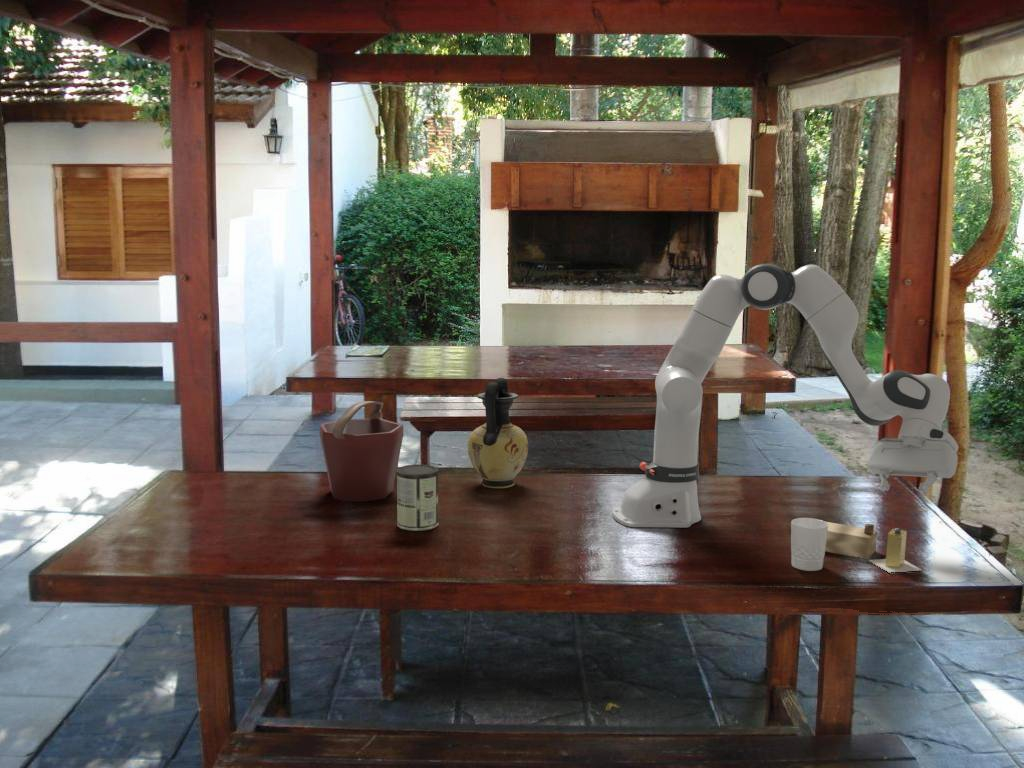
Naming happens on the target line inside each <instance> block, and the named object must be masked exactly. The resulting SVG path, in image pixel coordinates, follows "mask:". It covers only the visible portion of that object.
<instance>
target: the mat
mask: <svg viewBox="0 0 1024 768" xmlns="http://www.w3.org/2000/svg"><path fill="white" fill-rule="evenodd" d="M868 560H869V561H870V562H869V563H871V562H872V563H873V564H872V563H871V564H872V565H874V564H875V565H876V567H877V566H878V567H877V568H879V567H880V568H881V570H882V569H883V570H885V571H887V572H888V573H890V574H892V573H891V572H894V573H893V574H896V573H895V572H907V571H919V570H922V569H921V568H919V567H917V565H914V564H913V563H910V562H909V561H907V560H904V564H903V565H902V566H901V568H900V569H897V568H892V567H887V566H885V564H886V558H882V559H881V558H879V559H868ZM875 565H874V566H875ZM880 568H879V569H880ZM883 570H882V571H883ZM885 571H884V572H885ZM887 572H886V573H887ZM888 573H887V574H888ZM907 573H908V572H907Z"/></svg>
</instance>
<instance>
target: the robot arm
mask: <svg viewBox="0 0 1024 768" xmlns="http://www.w3.org/2000/svg"><path fill="white" fill-rule="evenodd" d="M784 303H785V304H786V303H788V304H790V305H792V306H794V307H795V308H796V309H797V311H799V313H801V315H802V316H803V318H804V319H805V320H806V321H807V322H808V324H809V326H810V327H811V329H812V330H813V332H814V334H815V336H816V338H817V339H818V341H819V347H820V350H821V353H822V355H823V356H824V358H825V359H826V361H827V363H828V364H829V366H830V367H831V369H832V371H833V372H834V374H835V375H836V377H837V379H838V380H839V382H840V384H841V385H842V387H843V388H844V390H845V391H846V393H847V396H848V398H849V399H850V402H851V405H852V408H853V410H854V413H855V414H856V415H857V417H858V418H859V420H861V421H862V422H863V423H866V425H869V426H874V427H875V426H877V427H880V426H882V425H885V424H886V423H888V422H889V421H891V420H892V419H893V418H894V417H896V416H899V417H901V418H902V423H901V426H900V430H899V433H898V435H897V437H882V438H881V439H879V440H877V441H875V442H874V445H873V448H872V451H871V452H870V454H869V457H868V459H867V463H866V465H867V467H868V469H869V470H870V471H871V473H872V474H873V475H878V476H879V479H880V485H879V489H880V490H881V491H890V487H891V484H890V483H889V481H888V480H887V479H888V478H889V477H890V476H903V477H904V476H906V477H920V478H921V477H923V478H926V479H925V481H924V482H920V483H919V486H918V491H919V492H920V493H921V494H928V493H929V490H930V488H931V487H932V486H933V485H934V484H935V483H936V482H937V480H938V478H940V479H941V478H942V479H951V478H952V477H954V476H955V474H956V471H957V467H958V460H959V458H958V457H959V456H958V454H957V452H958V450H959V444H958V443H957V441H956V440H955V438H954V437H953V436H952V435H951V434H950V433H949V432H947V431H946V430H943V429H942V426H943V425H942V424H943V422H944V421H945V419H946V416H947V414H948V410H949V405H950V401H951V400H950V399H951V389H950V385H949V383H948V382H947V381H946V380H945V379H944V378H942V377H940V376H939V375H936V374H933V373H924V374H923V373H922V374H913V373H909V372H908V371H905V370H902V369H895V370H891V371H890V372H888V373H886V374H884V375H882V376H881V377H879V378H877V379H876V380H874V381H873V380H871V379H870V378H869V376H868V375H867V373H866V372H865V370H864V369H863V367H862V365H861V364H860V363H859V361H858V360H857V358H856V355H855V354H854V352H853V348H852V344H853V343H852V342H853V338H854V336H855V333H856V330H857V327H858V325H859V317H860V316H859V315H860V314H859V311H858V308H857V307H856V305H855V303H854V302H853V301H852V299H851V297H849V295H848V294H847V292H845V290H844V289H843V288H842V287H841V286H840V284H838V282H837V281H836V280H835V279H834V278H833V277H832V276H831V275H830V274H828V272H826V271H825V270H824V269H823V268H821V267H820V266H819V265H817V264H806V265H803V266H800V267H799V268H797V269H796V270H794V271H792V272H790V271H789V270H785V269H783V268H781V267H779V266H778V265H776V264H772V263H761V264H757V265H755V266H752V267H750V268H749V269H748V270H747V271H746V272H745V274H744V275H743V276H742V277H740V278H739V277H737V278H736V277H733V276H731V275H727V274H716V275H714V276H712V277H711V278H710V279H709V281H708V282H707V283H706V284H705V286H704V287H703V289H702V290H701V292H700V294H699V295H698V297H697V299H696V300H695V302H694V304H693V307H692V308H691V311H690V312H689V314H688V316H687V318H686V320H685V323H684V325H683V326H682V329H681V331H680V333H679V335H678V337H677V339H676V341H675V342H674V344H673V346H672V347H671V348H670V351H669V352H668V354H667V356H666V357H665V360H664V361H663V363H662V365H661V366H660V368H659V371H658V372H657V374H656V376H655V381H654V386H655V387H654V389H655V392H656V407H655V410H656V411H655V412H656V413H655V423H654V433H653V434H654V435H653V457H652V458H653V460H652V461H651V462H650V463H649V464H648V463H647V462H645V461H641V462H640V464H639V469H640V470H641V471H644V472H645V476H644V477H643V478H642V479H640V480H639V481H638V482H636V483H634V484H633V485H632V486H630V487H629V488H628V489H626V490H625V491H624V493H623V496H622V499H621V504H620V507H615V508H614V509H612V513H611V514H612V518H613V519H614V520H615V521H617V522H618V523H619V524H620V525H623V526H626V527H629V528H630V527H631V528H684V529H685V528H686V529H687V528H690V527H691V526H692V525H693V524H695V523H698V522H700V521H701V520H702V515H701V512H700V507H699V501H698V500H699V499H698V485H699V477H700V471H699V469H700V468H699V467H700V465H699V463H698V453H699V451H698V450H699V436H700V435H699V432H700V426H701V425H700V424H701V418H702V417H701V416H702V406H703V393H704V392H703V390H704V389H703V386H702V383H703V382H704V380H705V378H706V376H707V375H708V372H709V371H710V370H711V368H712V366H713V365H714V363H715V361H716V360H717V359H718V358H719V357H720V355H721V352H722V351H723V348H724V346H725V344H726V342H727V340H728V338H729V336H730V335H731V333H732V331H733V328H734V326H735V325H736V322H737V320H738V318H739V316H740V315H741V313H742V312H743V310H744V309H746V308H747V307H753V308H754V309H758V310H763V311H765V310H766V311H767V310H772V309H775V308H777V307H779V306H781V305H782V304H784Z"/></svg>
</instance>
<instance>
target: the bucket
mask: <svg viewBox="0 0 1024 768" xmlns="http://www.w3.org/2000/svg"><path fill="white" fill-rule="evenodd" d="M369 405H371V407H370V409H369V412H370V414H369V418H353V417H354V416H355V415H356V414H357V413H358V412H359V410H361V409H362V408H364V407H366V406H369ZM383 406H384V402H381V401H372V400H371V401H370V400H367V401H366V400H365V401H359V402H356V403H354V404H352V405H350V406H349V407H348V408H347V409H346V410H345V412H343V413H342V415H341V416H340V417H339V418H338V419H337V420H334V421H330V422H329V421H328V422H324V423H320V424H318V425H319V438H320V444H321V448H322V453H323V459H324V463H325V468H326V473H327V478H328V484H329V488H330V492H331V494H332V497H333V499H334V500H342V501H349V502H356V503H359V502H369V501H377V500H383V499H386V498H387V497H388V496H389V495H390V494H392V492H394V491H393V490H394V486H395V481H396V480H395V479H396V477H397V473H396V470H397V468H398V465H399V461H400V455H401V450H402V446H403V445H402V444H403V439H404V424H402V423H398V422H395V421H391V420H389V419H383V412H382V408H383Z"/></svg>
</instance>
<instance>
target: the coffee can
mask: <svg viewBox="0 0 1024 768" xmlns="http://www.w3.org/2000/svg"><path fill="white" fill-rule="evenodd" d="M396 497H397V498H396V509H397V510H396V513H397V519H396V520H397V524H396V527H397V528H399V529H402V530H404V531H405V530H406V531H417V532H418V531H423V532H424V531H427V530H428V531H429V530H432V529H435V528H437V527H439V468H438V467H437V466H434V465H429V464H408V465H403V466H400V467H397V470H396Z"/></svg>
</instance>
